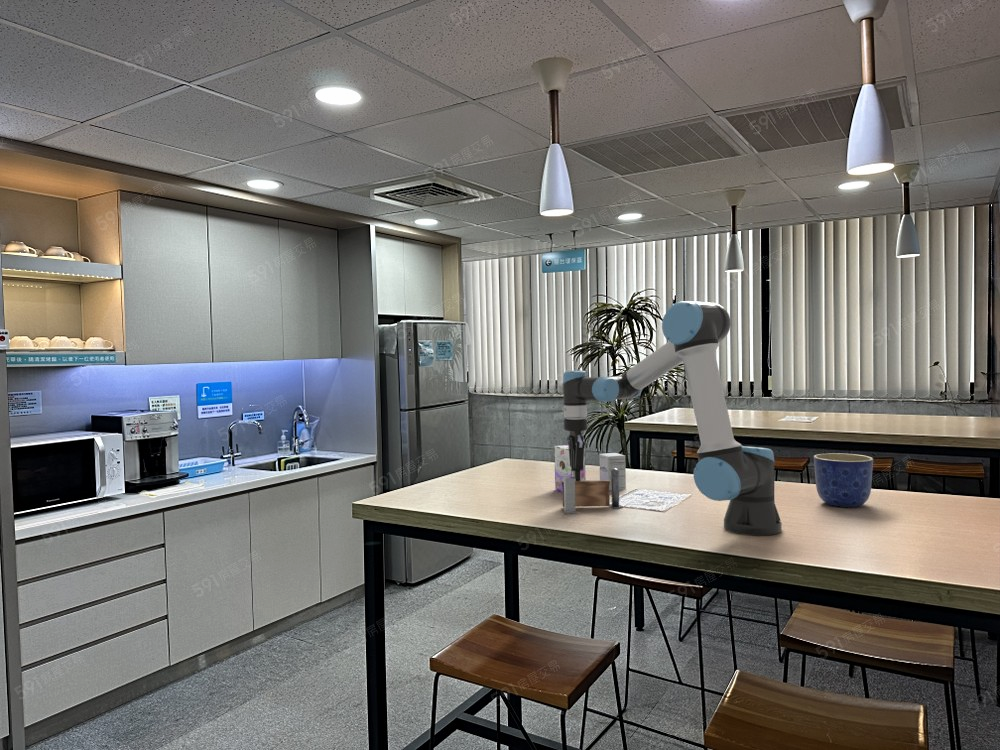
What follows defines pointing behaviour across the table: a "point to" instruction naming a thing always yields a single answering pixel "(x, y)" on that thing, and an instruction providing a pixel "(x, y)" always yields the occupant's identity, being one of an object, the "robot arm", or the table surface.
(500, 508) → the table surface
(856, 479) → the planter
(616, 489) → the hinge post
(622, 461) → the supplement box
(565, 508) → the stile
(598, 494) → the gate
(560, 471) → the candy box
